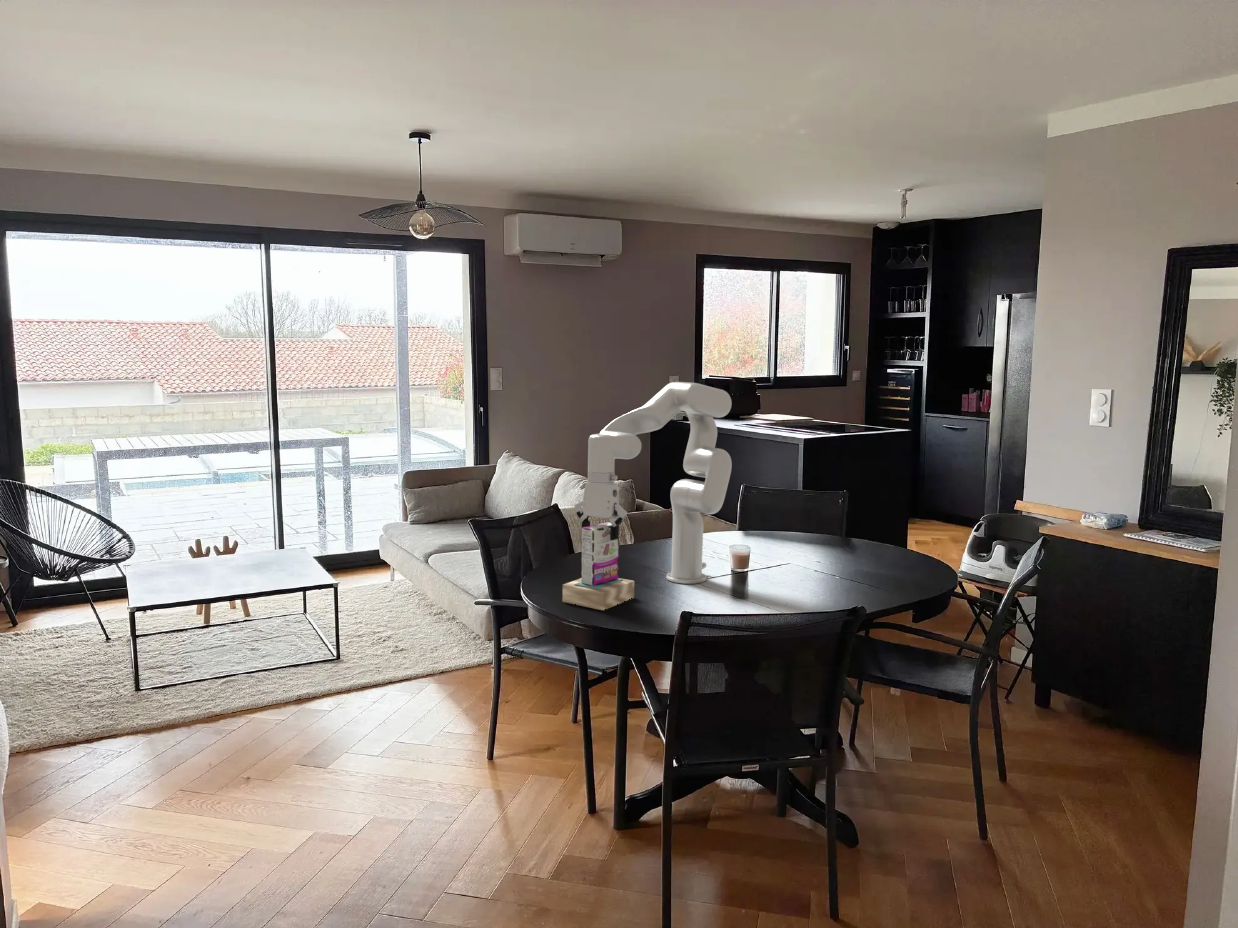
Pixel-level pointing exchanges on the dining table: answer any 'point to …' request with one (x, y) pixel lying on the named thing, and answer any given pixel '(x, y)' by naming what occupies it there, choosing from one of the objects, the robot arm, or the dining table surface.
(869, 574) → the dining table surface
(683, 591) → the dining table surface
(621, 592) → the wooden brick
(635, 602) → the dining table surface
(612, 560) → the candy bar box
